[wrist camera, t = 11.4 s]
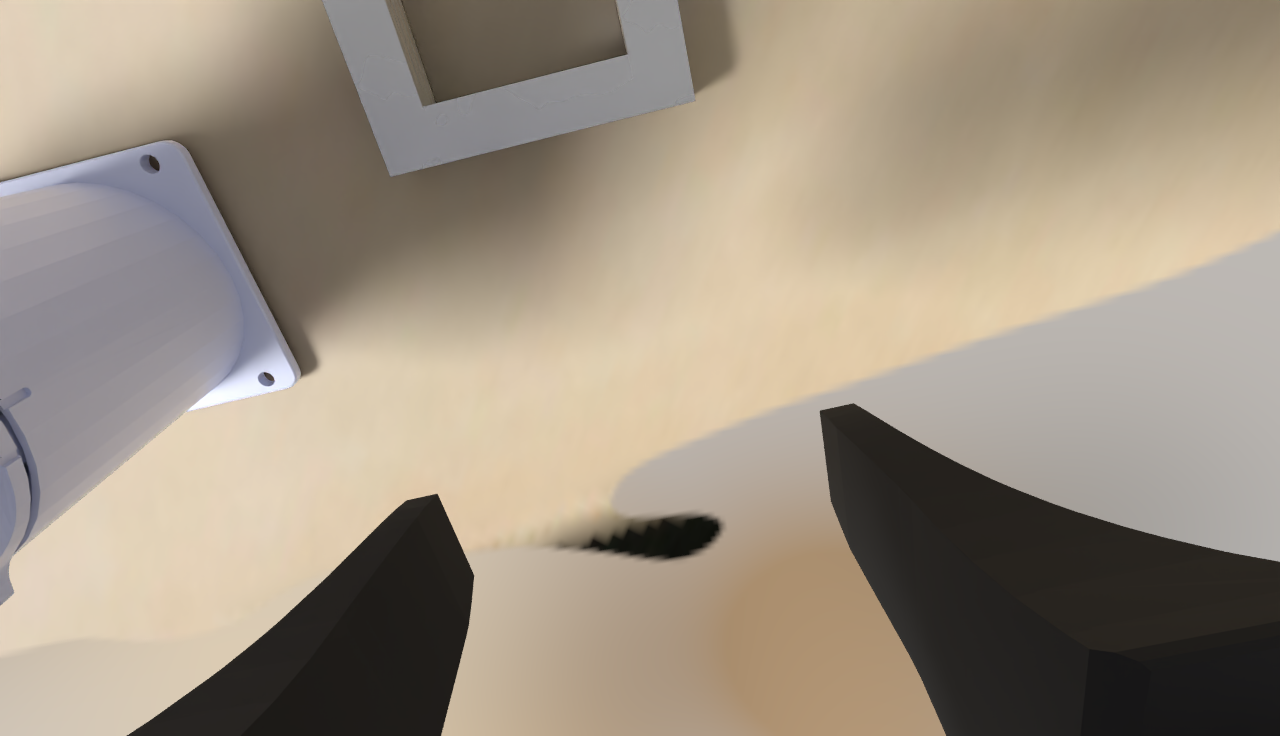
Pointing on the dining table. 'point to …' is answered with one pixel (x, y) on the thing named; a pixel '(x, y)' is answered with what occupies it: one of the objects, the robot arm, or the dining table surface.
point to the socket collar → (511, 113)
